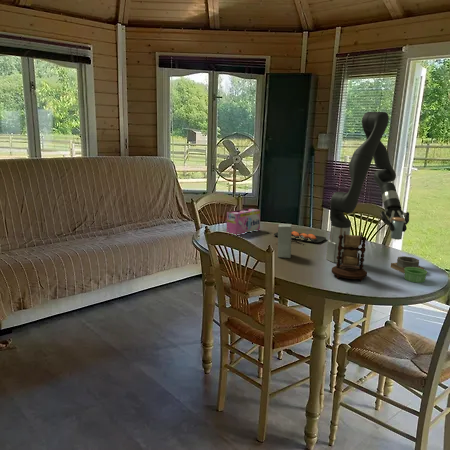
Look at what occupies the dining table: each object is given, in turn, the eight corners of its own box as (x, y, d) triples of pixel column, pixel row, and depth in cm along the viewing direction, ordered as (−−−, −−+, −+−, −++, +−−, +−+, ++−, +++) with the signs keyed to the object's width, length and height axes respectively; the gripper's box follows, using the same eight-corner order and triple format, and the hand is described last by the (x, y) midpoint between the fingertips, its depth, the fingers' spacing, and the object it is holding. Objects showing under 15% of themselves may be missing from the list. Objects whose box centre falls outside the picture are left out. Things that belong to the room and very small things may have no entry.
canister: (395, 239, 194) (398, 219, 191) (387, 237, 199) (390, 217, 196) (404, 239, 195) (407, 218, 193) (396, 236, 200) (398, 216, 198)
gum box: (251, 228, 262) (252, 207, 259) (261, 230, 257) (262, 209, 254) (225, 233, 246) (226, 211, 243) (235, 236, 240) (236, 213, 237)
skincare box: (290, 258, 200) (292, 227, 196) (275, 257, 201) (277, 226, 198) (291, 253, 208) (293, 223, 204) (277, 252, 209) (279, 222, 206)
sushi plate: (327, 240, 239) (328, 234, 238) (308, 252, 214) (309, 245, 213) (282, 233, 254) (282, 227, 253) (259, 242, 229) (259, 236, 228)
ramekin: (428, 279, 175) (430, 270, 174) (422, 285, 169) (423, 275, 168) (407, 274, 181) (408, 265, 180) (400, 279, 175) (401, 270, 174)
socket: (406, 274, 181) (407, 263, 180) (390, 267, 190) (391, 257, 189) (423, 272, 185) (425, 261, 184) (407, 265, 194) (408, 255, 193)
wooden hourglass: (364, 272, 182) (369, 229, 178) (368, 284, 168) (373, 237, 164) (330, 269, 185) (334, 226, 181) (331, 280, 171) (335, 234, 167)
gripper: (379, 196, 200) (386, 226, 191) (408, 197, 200) (417, 227, 191) (374, 205, 206) (381, 234, 197) (402, 206, 207) (410, 235, 198)
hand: (398, 230), depth 194 cm, fingers closed on canister, 5 cm apart
